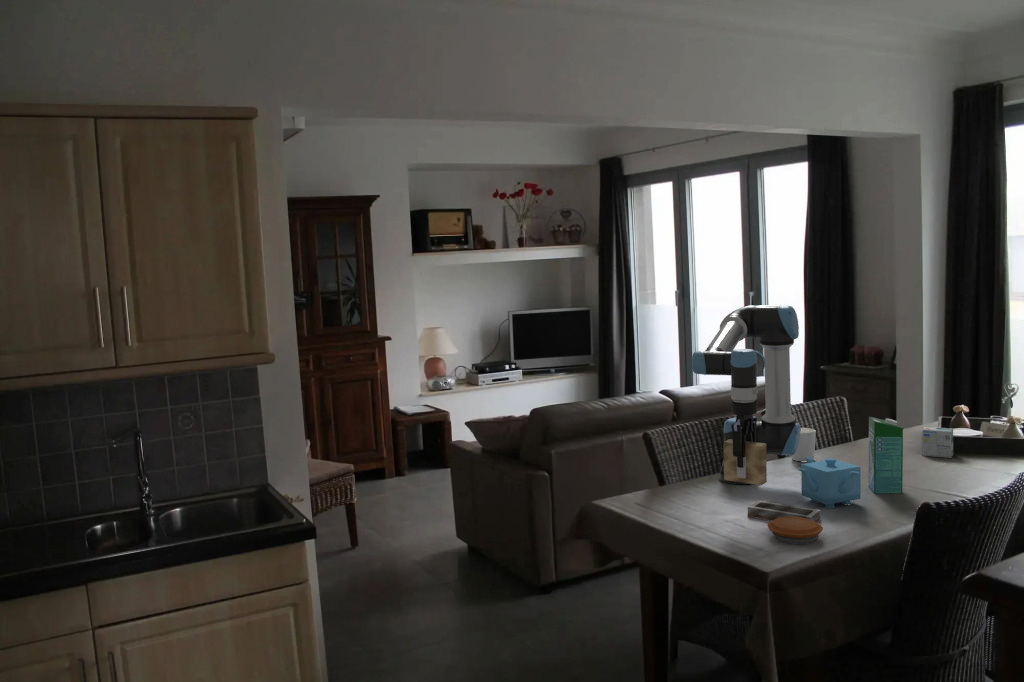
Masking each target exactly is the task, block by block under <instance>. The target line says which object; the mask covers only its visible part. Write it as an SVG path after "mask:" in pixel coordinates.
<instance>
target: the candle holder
mask: <svg viewBox="0 0 1024 682" xmlns="http://www.w3.org/2000/svg"><path fill="white" fill-rule="evenodd" d="M800 428H801V431H800V439H799V444H798V448H797V451H796V453H795V454H794V455H791V460H792V459H793V460H792V461H794V460H796V461H795V462H797V461H807V460H806V459H805V458H804V457H810V458H811V459H812V460H815V448H816V434H817V430H816V429H813V428H809V427H800Z"/></svg>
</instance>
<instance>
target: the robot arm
mask: <svg viewBox="0 0 1024 682" xmlns="http://www.w3.org/2000/svg"><path fill="white" fill-rule="evenodd" d="M799 330H800V327H799V319H798V315H797V312H796V309H795V308H794V307H793V306H791V305H785V304H784V305H782V304H771V305H770V304H768V305H766V304H763V305H754V304H753V305H747V306H741V307H739V308H738V309H735V310H733V311H731V312H729V314H727V315H726V316H725V317H724V318H723V319H722V320H721V322H720V325H719V330H718V332H717V333H716V334H715V336H713V338H712V340H711V341H710V343H709V344H708V346H707V347H706V349H705V350H696V351H694V352H693V353H692V356H691V370H692V372H693V373H694V374H696V375H704V376H711V375H712V376H730V382H731V383H730V384H731V385H730V398H731V403H730V404H731V414H733V415H734V414H735V417H730V418H728V419H726V420H725V421H724V423H723V432H722V433H723V442H724V441H726V440H728V439H732V440H733V456H736V457H737V477H740V478H746V457H744V456H745V444H746V441H749V442H758V443H766V455H775V456H777V455H778V456H792V455H794V454H795V453H796V451H797V448H798V444H799V439H800V431H801V428H802V427H801V424H800V423H799V422H796V417H795V415H794V414H792V409H791V408H792V407H791V406H792V404H791V401H792V400H791V396H792V395H791V355H790V354H791V352H790V351H791V349H790V348H791V347H792V346H793V345H794V343H795V340H796V339H798V338H799V334H800V333H799V332H800V331H799ZM744 339H759V345H760V346H761V347H762V348H763V350H764V351H763V354H762V353H761V352H760V351H757V350H755V349H752V348H751V349H750V348H738V349H735V348H736V346H737V345H738V343H739V342H741V341H742V340H744ZM763 370H764V390H765V391H764V396H765V399H764V400H765V413H764V414H763V415H762V416H761V421H760V420H758V418H757V416H755V414H757V413H758V402H757V399H758V393H759V391H758V388H757V387H758V382H757V380H758V375H759V374H762V372H763ZM753 415H754V416H753ZM719 480H720V481H721V482H723V483H726V484H730V485H741V486H743V485H750V484H749V483H742V482H735V481H729V480H724V460H722V464H721V467H720V470H719Z"/></svg>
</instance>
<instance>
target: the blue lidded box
mask: <svg viewBox="0 0 1024 682" xmlns="http://www.w3.org/2000/svg"><path fill="white" fill-rule="evenodd" d="M804 458H805V459H806V460H807V462H805V463H802V464H801V466H800V468H797V471H799V472H801V481H800V482H801V484H800V485H801V497H804V498H807V499H810V500H809V502H810V501H811V502H810V503H814V502H817V503H821V504H824V507H825V508H826V507H828V508H827V509H834V508H835V504H839V503H843V504H842V505H844V504H847V505H846V506H849V505H848V504H851V503H852V501H856V500H861V493H862V492H861V489H862V488H861V484H862V483H861V481H862V479H861V478H862V477H861V475H862V474H861V471H862V470H861V468H862V467H861V466H859V465H855V464H852V463H848V462H846V461H842V460H838V459H835V458H830V457H827V458H825V460H820V461H813V460H812V459H811V458H810V457H804ZM833 507H834V508H833Z"/></svg>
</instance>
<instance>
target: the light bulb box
mask: <svg viewBox="0 0 1024 682" xmlns="http://www.w3.org/2000/svg"><path fill="white" fill-rule="evenodd" d="M921 436H922V437H921V439H922V447H921V448H922V450H921V452H922V454H921V455H922V456H925V457H933V458H934V457H936V458H948V459H952V457H953V456H954V428H952V427H951V428H950V427H949V428H948V427H935V426H933V427H929V426H924V427H923V428H922V435H921Z"/></svg>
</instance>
